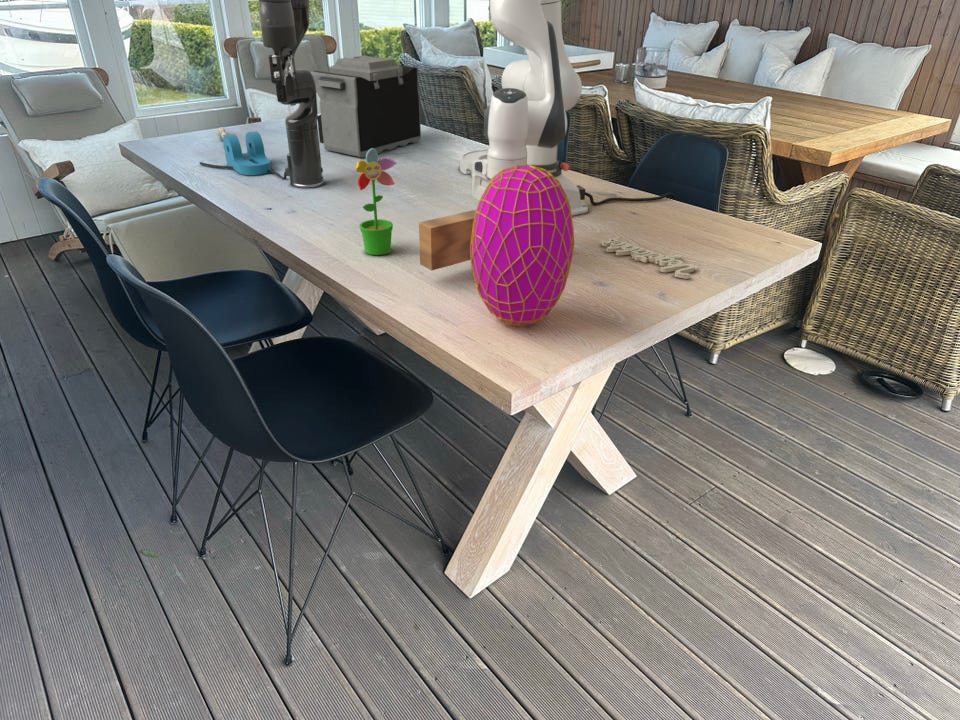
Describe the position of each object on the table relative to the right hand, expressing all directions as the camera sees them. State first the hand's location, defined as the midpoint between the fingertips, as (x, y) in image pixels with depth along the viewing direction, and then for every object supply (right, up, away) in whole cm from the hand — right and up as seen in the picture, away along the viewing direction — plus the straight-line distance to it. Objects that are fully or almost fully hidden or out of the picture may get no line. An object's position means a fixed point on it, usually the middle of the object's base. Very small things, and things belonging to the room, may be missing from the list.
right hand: (504, 228), depth 158 cm
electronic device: (-46, +50, +100) cm, 121 cm away
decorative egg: (+2, -22, -22) cm, 32 cm away
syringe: (-104, +54, +106) cm, 158 cm away
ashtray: (-1, +34, +73) cm, 81 cm away
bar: (-8, -7, -3) cm, 10 cm away
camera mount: (-82, +34, +71) cm, 114 cm away
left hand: (-52, +32, +7) cm, 62 cm away
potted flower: (-30, -4, +9) cm, 32 cm away
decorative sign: (+35, -6, +6) cm, 36 cm away
